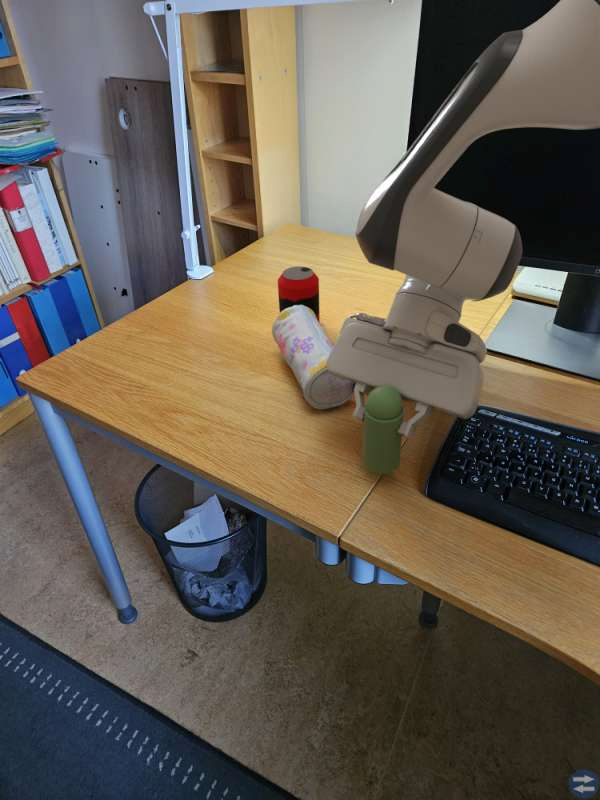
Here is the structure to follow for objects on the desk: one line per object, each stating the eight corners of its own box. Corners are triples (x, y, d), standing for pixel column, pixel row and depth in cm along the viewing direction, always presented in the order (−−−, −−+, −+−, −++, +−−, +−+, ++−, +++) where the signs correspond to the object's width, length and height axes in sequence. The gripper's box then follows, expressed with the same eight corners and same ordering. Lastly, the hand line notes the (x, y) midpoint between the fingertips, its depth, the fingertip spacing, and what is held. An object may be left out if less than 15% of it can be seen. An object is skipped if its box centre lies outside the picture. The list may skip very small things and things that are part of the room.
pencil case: (359, 407, 89) (361, 357, 83) (307, 419, 87) (305, 369, 81) (315, 342, 105) (315, 296, 99) (271, 351, 103) (267, 305, 97)
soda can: (327, 329, 108) (327, 271, 101) (301, 345, 104) (298, 286, 97) (299, 316, 113) (297, 260, 105) (272, 331, 108) (268, 274, 101)
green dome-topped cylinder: (403, 454, 77) (410, 381, 69) (393, 478, 73) (400, 405, 66) (368, 445, 78) (371, 374, 71) (357, 469, 75) (359, 396, 67)
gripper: (340, 301, 74) (303, 398, 74) (493, 341, 65) (451, 453, 64) (356, 316, 80) (321, 407, 79) (499, 355, 70) (460, 458, 70)
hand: (381, 428), depth 72 cm, fingers closed on green dome-topped cylinder, 5 cm apart
